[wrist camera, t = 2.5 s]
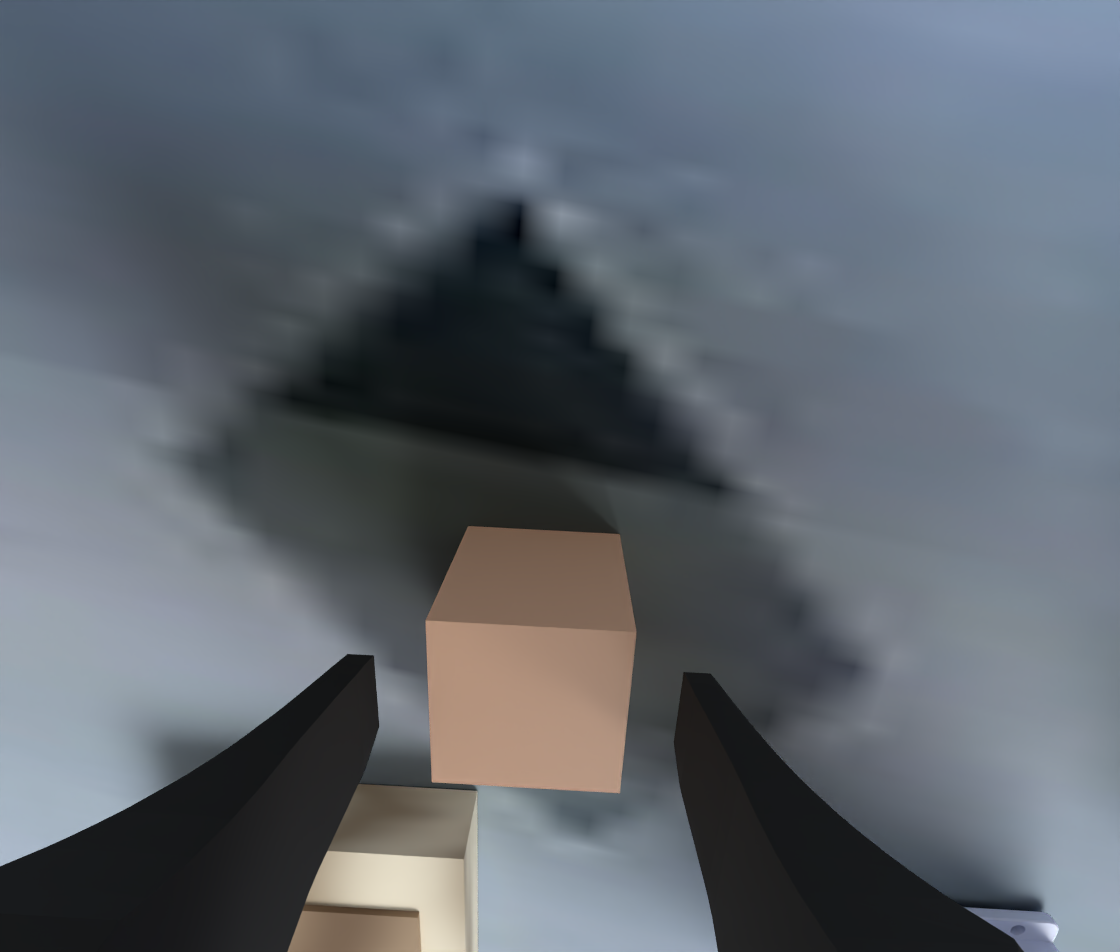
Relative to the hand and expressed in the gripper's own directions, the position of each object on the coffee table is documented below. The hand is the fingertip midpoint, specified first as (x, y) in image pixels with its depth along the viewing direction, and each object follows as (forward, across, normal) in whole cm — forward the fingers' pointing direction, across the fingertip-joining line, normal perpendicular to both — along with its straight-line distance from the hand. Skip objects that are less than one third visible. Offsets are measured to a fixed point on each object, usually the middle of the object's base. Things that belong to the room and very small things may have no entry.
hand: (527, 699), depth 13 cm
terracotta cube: (+5, 0, 0) cm, 5 cm away
